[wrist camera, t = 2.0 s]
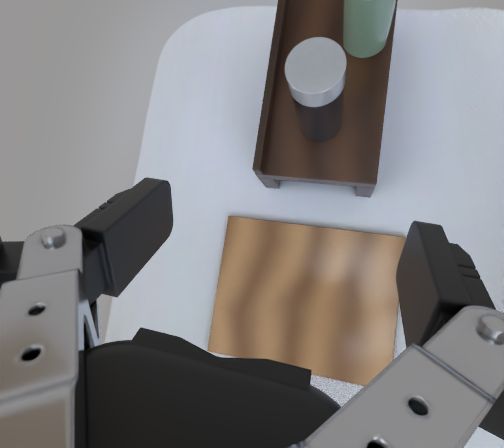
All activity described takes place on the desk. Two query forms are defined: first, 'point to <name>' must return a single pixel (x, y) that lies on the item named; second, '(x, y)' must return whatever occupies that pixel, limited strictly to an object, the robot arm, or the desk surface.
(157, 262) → the desk surface
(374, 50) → the salt shaker
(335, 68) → the pepper shaker
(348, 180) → the walnut shelf
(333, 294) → the wooden board
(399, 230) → the desk surface
